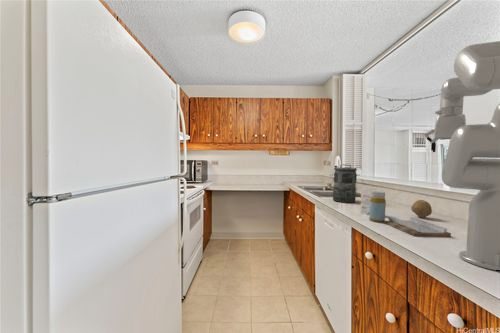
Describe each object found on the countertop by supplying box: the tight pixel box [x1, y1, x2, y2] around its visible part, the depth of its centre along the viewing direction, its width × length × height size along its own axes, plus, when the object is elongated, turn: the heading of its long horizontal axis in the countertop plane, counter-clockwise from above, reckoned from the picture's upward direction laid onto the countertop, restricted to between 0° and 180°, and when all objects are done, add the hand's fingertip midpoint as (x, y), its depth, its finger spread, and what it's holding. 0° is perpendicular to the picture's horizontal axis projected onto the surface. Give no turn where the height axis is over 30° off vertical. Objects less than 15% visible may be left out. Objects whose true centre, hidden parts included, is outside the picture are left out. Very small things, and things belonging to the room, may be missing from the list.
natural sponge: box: [410, 199, 433, 219], centre depth 125 cm, size 9×9×10 cm
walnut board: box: [384, 220, 452, 238], centre depth 101 cm, size 18×16×2 cm
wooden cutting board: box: [388, 216, 448, 233], centre depth 101 cm, size 18×12×2 cm
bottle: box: [368, 190, 387, 223], centre depth 115 cm, size 7×7×15 cm
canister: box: [332, 164, 358, 204], centre depth 170 cm, size 16×16×28 cm
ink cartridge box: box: [359, 188, 377, 216], centre depth 130 cm, size 9×5×15 cm, turn 42°
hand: (448, 152), depth 98 cm, fingers open, 9 cm apart
